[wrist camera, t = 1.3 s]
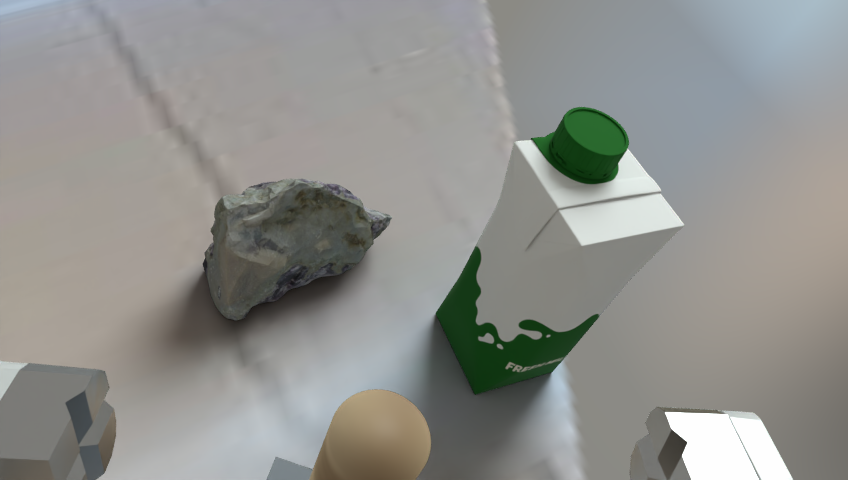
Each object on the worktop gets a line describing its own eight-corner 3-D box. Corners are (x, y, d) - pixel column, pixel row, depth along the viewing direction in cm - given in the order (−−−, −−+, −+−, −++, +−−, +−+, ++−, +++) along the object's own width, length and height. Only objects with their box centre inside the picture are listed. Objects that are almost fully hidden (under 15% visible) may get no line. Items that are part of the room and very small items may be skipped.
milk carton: (514, 285, 57) (632, 97, 42) (568, 381, 52) (723, 208, 37) (419, 306, 53) (513, 107, 38) (469, 412, 48) (597, 232, 34)
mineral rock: (380, 232, 57) (410, 143, 49) (377, 346, 50) (412, 263, 42) (218, 206, 54) (224, 108, 46) (191, 323, 47) (194, 231, 40)
